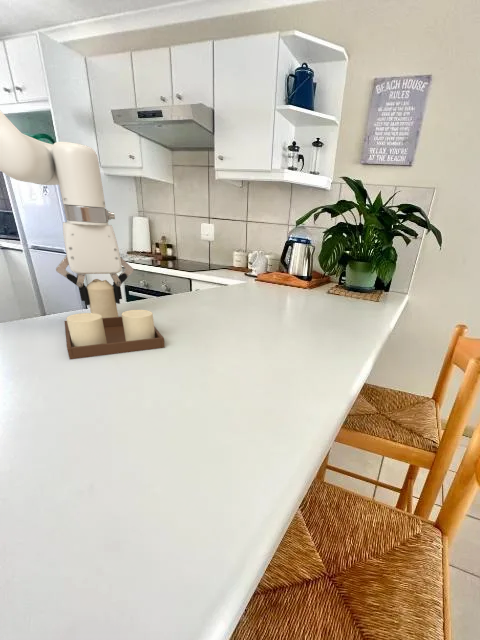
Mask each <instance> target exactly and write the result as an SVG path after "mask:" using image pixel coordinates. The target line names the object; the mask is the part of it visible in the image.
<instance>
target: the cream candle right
mask: <svg viewBox="0 0 480 640" xmlns="http://www.w3.org/2000/svg"><path fill="white" fill-rule="evenodd" d="M121 317H122V320H123V326H124V333H125V339H126V341H133V340H142V339H152V338H155V330H154V326H155V323H154V322H155V321H154V313H153V312H152V311H150V310H146V309H130V310H126V311H123V312H122V313H121Z"/></svg>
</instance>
